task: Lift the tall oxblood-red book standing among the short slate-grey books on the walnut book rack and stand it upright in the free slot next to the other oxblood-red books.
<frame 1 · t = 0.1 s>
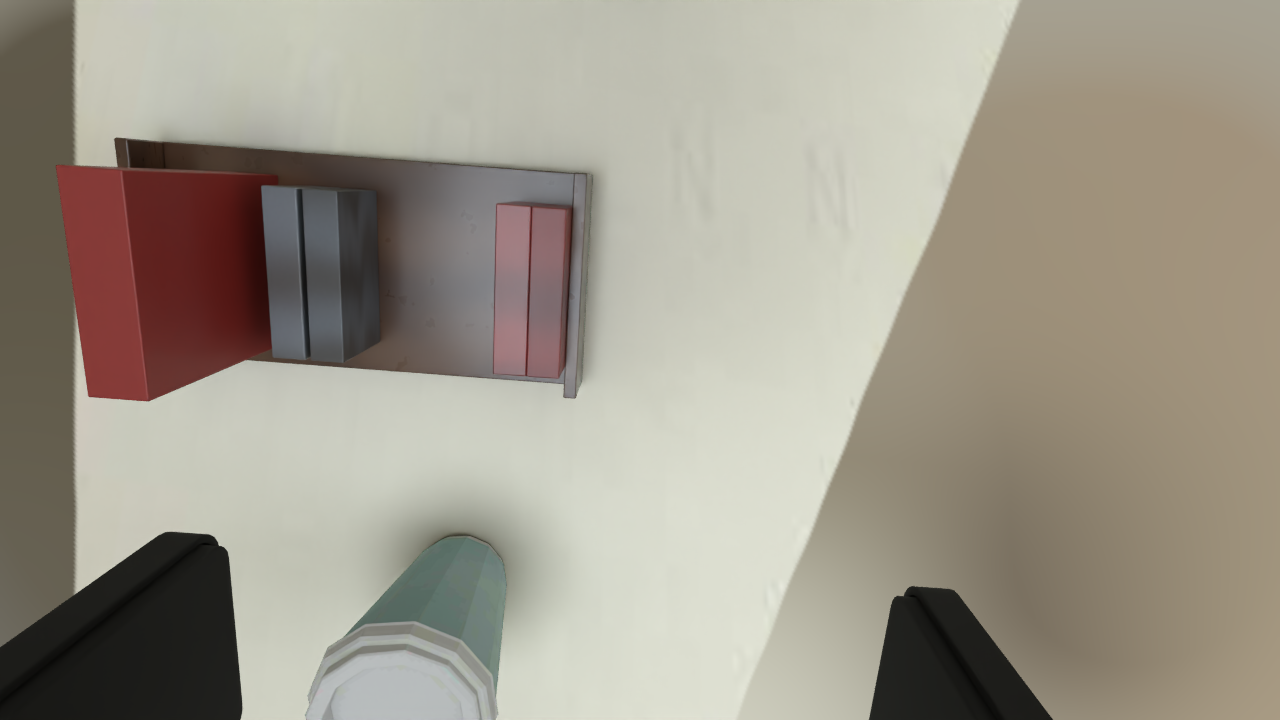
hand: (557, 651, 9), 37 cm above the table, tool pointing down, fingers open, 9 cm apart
book rack: (380, 266, 45), on the table
red book: (260, 259, 44), point 1 cm above the table, touching book rack
disposable coffee cup: (466, 573, 51), on the table
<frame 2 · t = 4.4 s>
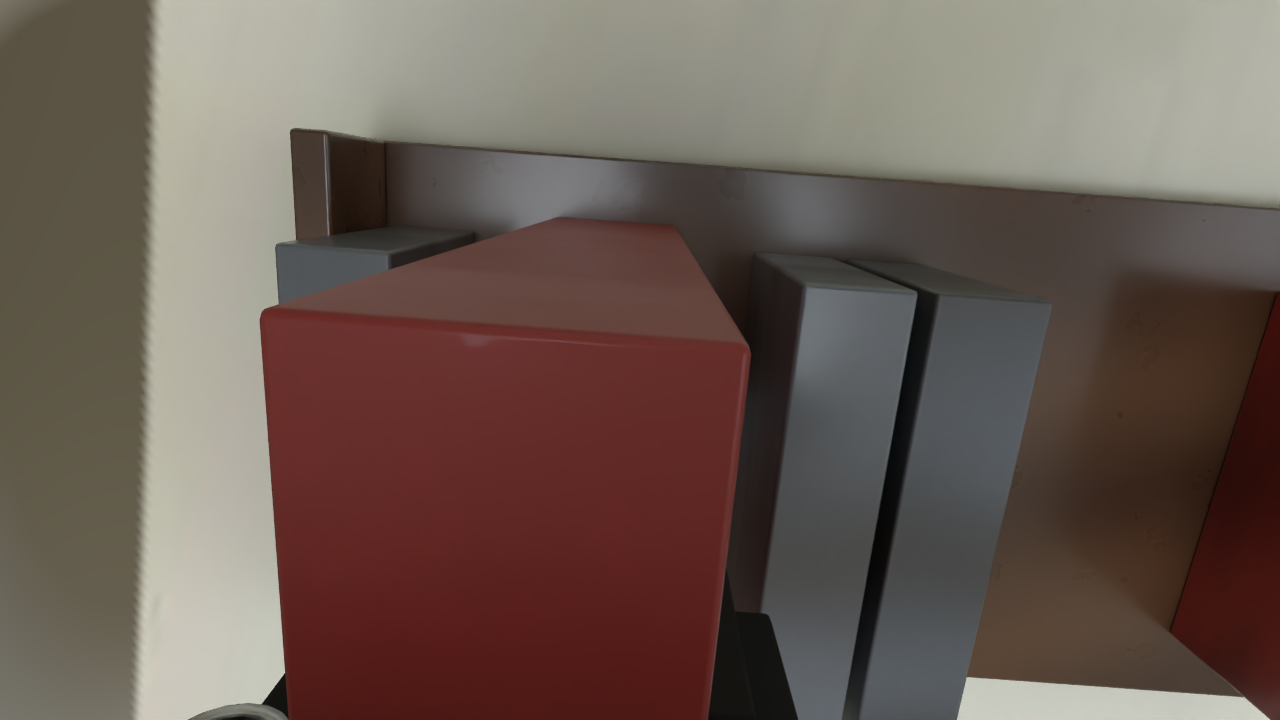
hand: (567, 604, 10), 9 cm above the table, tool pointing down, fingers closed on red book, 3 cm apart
book rack: (868, 435, 19), on the table
red book: (602, 428, 18), point 1 cm above the table, touching book rack, gripper
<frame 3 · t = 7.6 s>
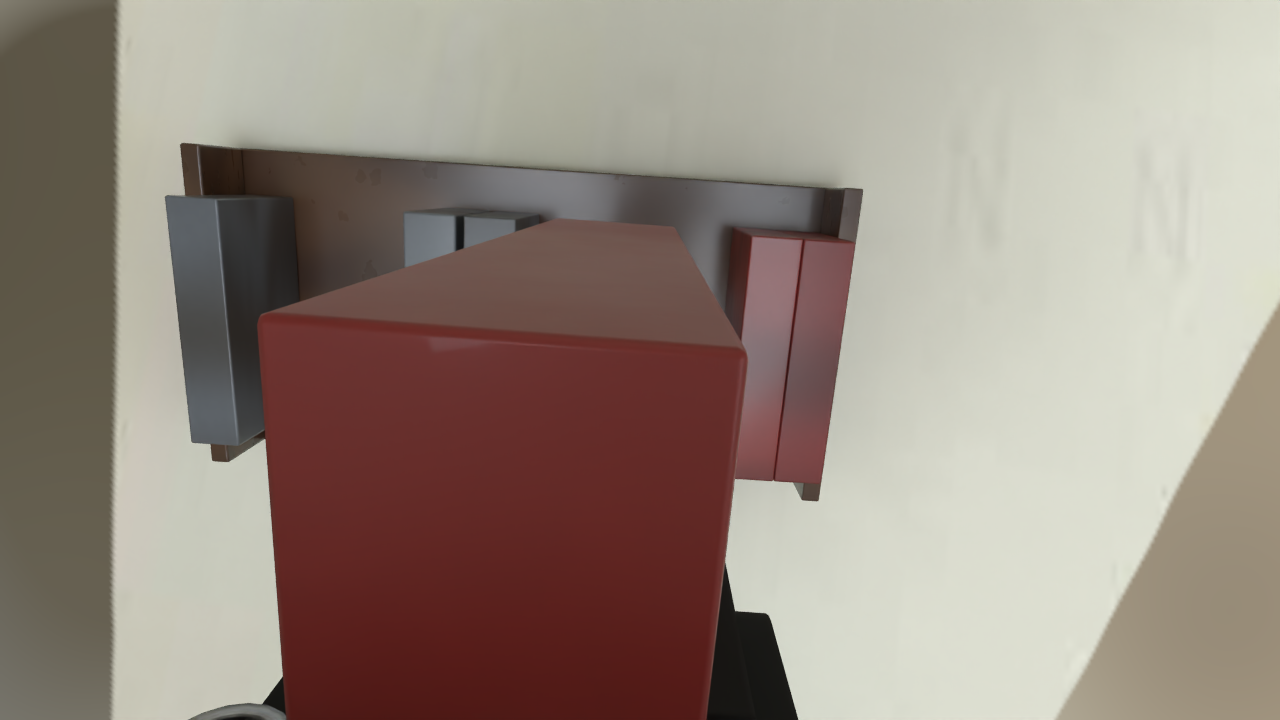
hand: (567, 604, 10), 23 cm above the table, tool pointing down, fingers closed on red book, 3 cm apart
book rack: (534, 316, 33), on the table
red book: (602, 429, 18), point 15 cm above the table, touching gripper
when the fingers open (9 cm above the table, at t = 11.1 s): red book stays where it is, resting on book rack.
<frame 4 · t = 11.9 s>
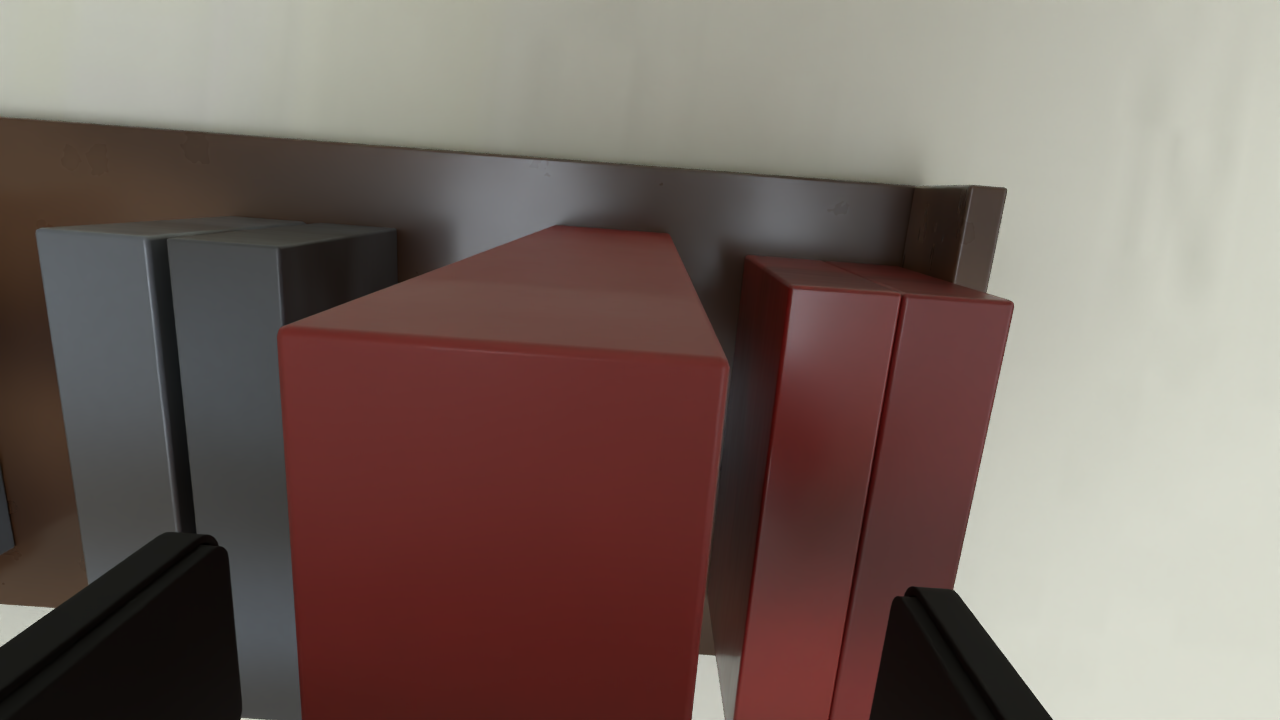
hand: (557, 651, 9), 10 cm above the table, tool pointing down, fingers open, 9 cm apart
book rack: (403, 401, 19), on the table
red book: (599, 432, 18), point 1 cm above the table, touching book rack
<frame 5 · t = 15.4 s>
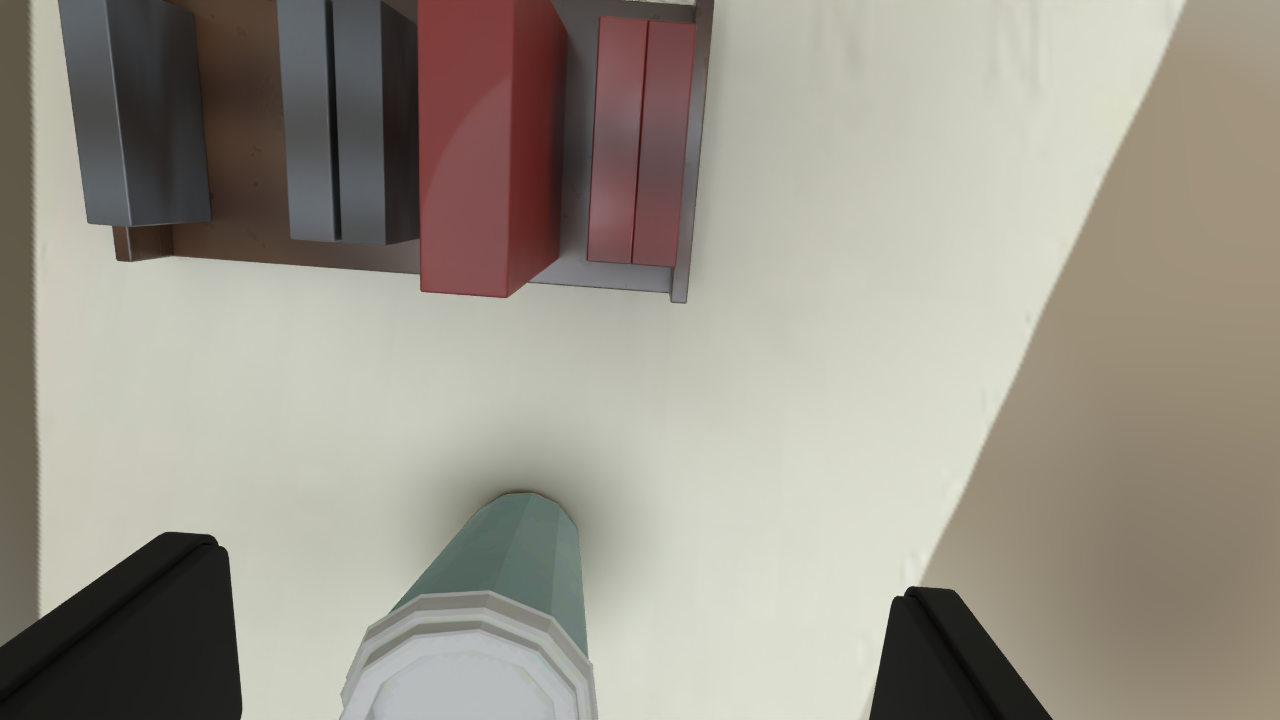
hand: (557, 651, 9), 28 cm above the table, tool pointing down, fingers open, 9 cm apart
book rack: (427, 138, 35), on the table
red book: (534, 148, 34), point 1 cm above the table, touching book rack
disposable coffee cup: (528, 540, 41), on the table
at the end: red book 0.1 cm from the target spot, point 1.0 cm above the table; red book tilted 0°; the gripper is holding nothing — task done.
